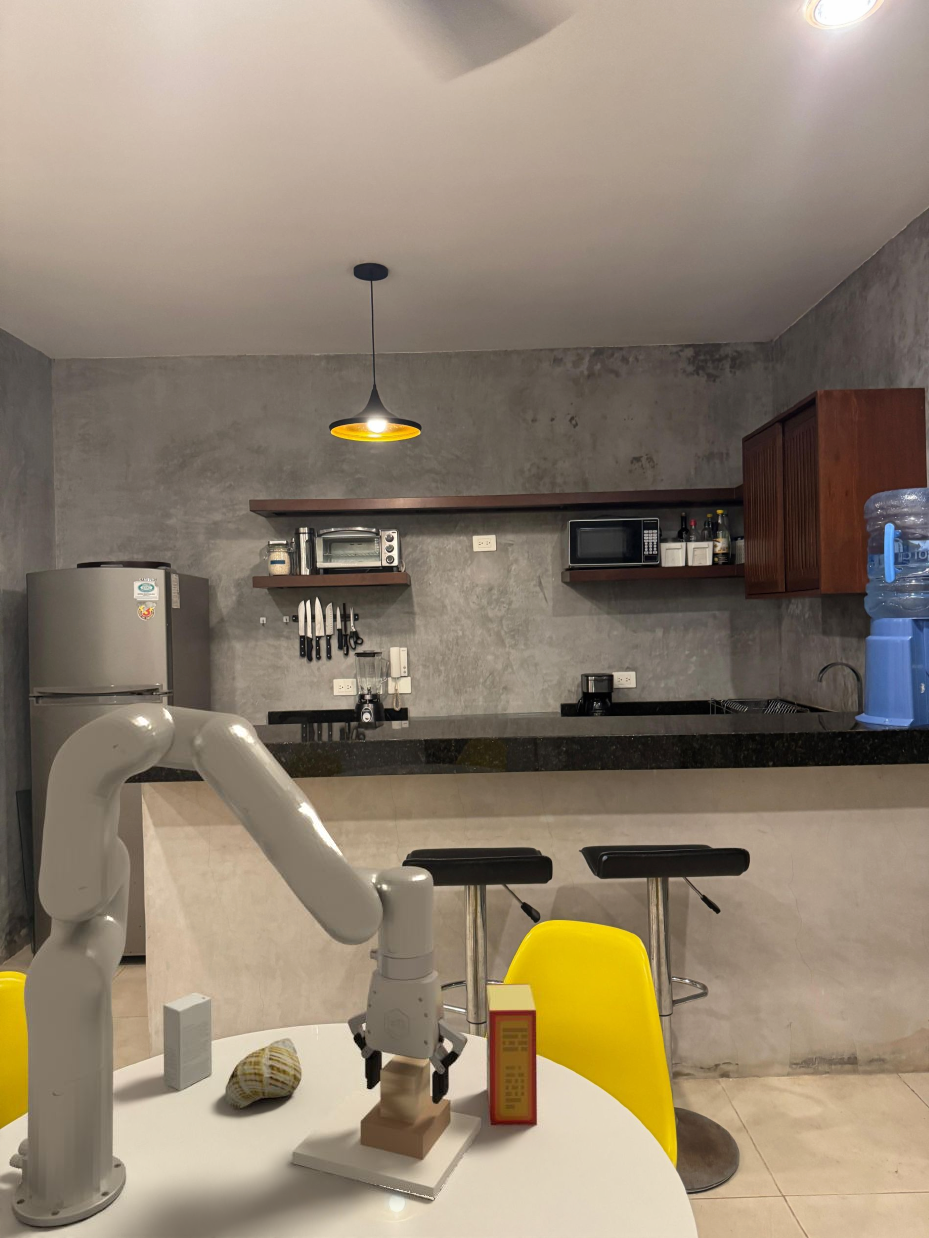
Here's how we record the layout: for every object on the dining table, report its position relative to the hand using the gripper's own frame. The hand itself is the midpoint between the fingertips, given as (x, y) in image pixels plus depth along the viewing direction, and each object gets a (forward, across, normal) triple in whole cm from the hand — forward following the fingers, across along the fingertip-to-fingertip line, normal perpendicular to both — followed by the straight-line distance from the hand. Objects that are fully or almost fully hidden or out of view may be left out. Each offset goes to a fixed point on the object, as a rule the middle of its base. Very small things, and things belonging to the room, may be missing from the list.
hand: (406, 1091), depth 113 cm
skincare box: (+7, -39, +3) cm, 40 cm away
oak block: (+2, 0, 0) cm, 3 cm away
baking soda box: (+7, +10, +14) cm, 19 cm away
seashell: (+7, -25, +4) cm, 26 cm away
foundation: (+7, -2, -1) cm, 7 cm away
